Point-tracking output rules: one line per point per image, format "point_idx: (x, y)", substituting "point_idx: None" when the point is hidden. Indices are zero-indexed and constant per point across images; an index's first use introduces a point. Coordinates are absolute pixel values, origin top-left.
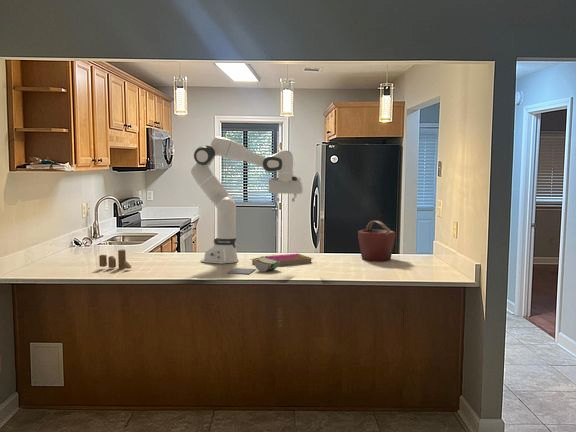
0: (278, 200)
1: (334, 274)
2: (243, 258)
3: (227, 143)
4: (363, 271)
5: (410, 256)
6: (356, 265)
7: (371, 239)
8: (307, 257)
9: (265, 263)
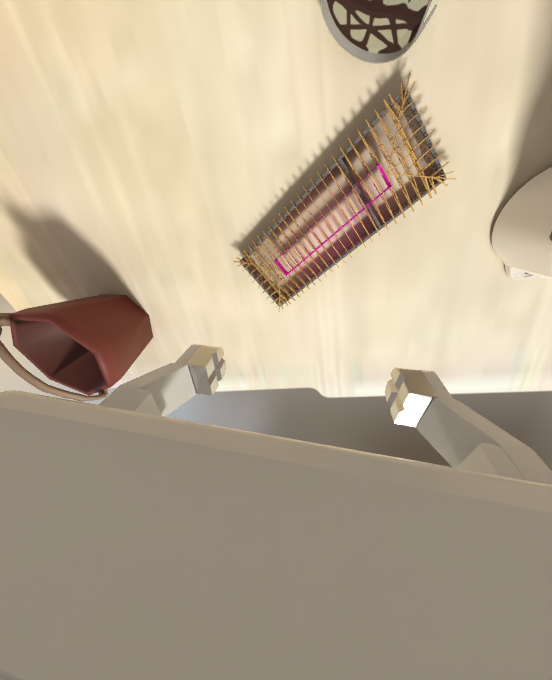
0: (400, 369)
1: (104, 11)
2: (454, 310)
3: None
4: (69, 140)
5: None
6: (132, 250)
7: (62, 309)
8: (249, 262)
9: None
